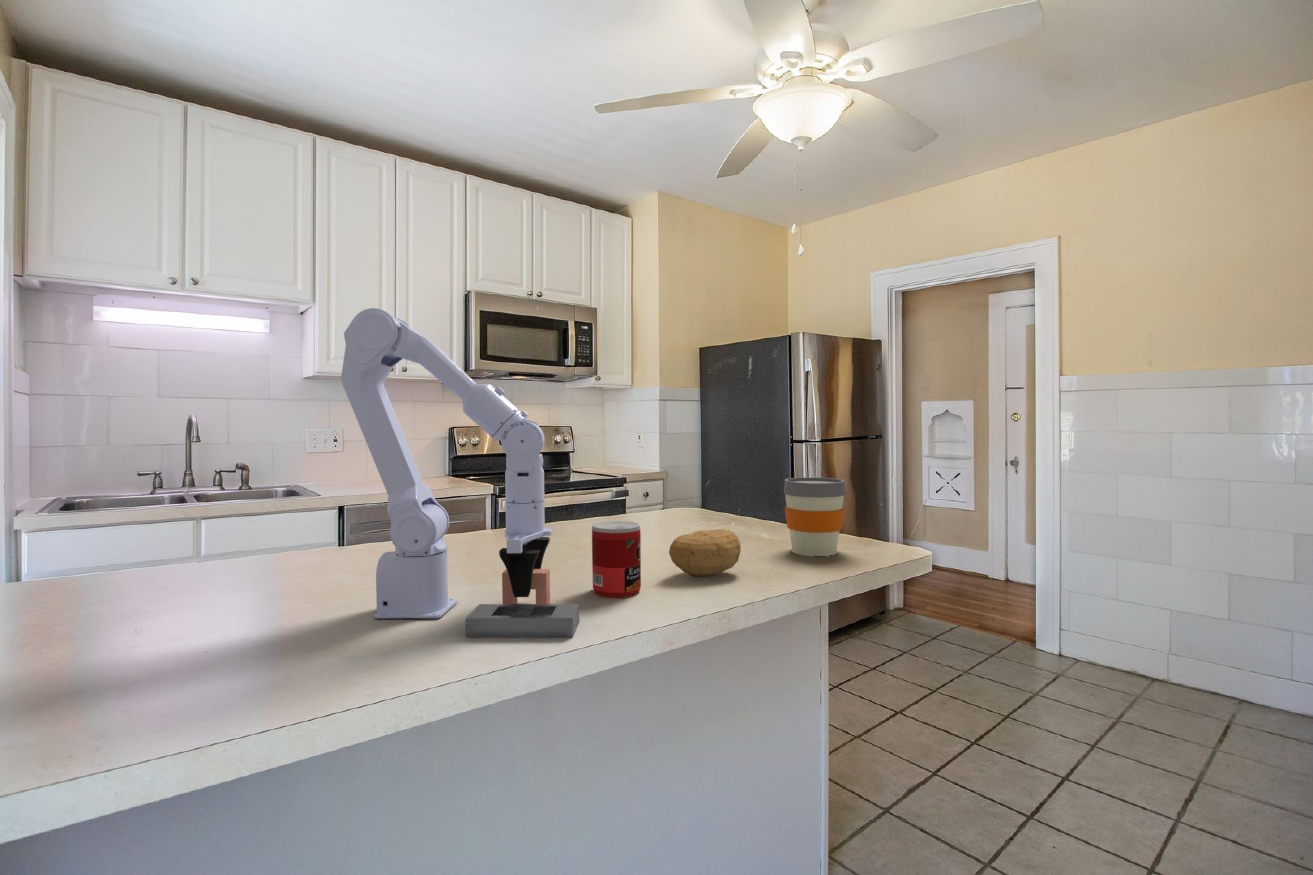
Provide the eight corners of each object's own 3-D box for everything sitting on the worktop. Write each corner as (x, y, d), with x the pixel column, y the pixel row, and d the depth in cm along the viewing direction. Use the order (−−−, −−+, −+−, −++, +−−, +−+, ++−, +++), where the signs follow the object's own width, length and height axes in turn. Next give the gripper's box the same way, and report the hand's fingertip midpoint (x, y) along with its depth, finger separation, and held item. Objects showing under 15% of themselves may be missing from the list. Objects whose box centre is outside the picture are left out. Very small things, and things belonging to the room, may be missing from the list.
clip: (502, 609, 93) (502, 573, 92) (507, 603, 95) (506, 569, 95) (546, 609, 93) (546, 573, 92) (550, 603, 95) (549, 568, 95)
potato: (657, 574, 112) (657, 530, 112) (721, 565, 119) (721, 523, 119) (685, 587, 104) (685, 540, 103) (753, 576, 110) (753, 531, 110)
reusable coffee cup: (858, 553, 128) (858, 481, 127) (815, 561, 121) (815, 485, 121) (813, 543, 139) (813, 476, 138) (771, 550, 132) (770, 479, 131)
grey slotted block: (465, 637, 81) (465, 618, 81) (479, 621, 87) (479, 604, 87) (573, 637, 81) (572, 617, 81) (579, 621, 87) (579, 603, 87)
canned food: (635, 599, 97) (634, 529, 97) (586, 596, 99) (585, 528, 98) (645, 586, 105) (645, 521, 104) (600, 584, 106) (599, 520, 106)
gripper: (541, 508, 86) (543, 605, 86) (559, 494, 100) (561, 577, 101) (491, 508, 86) (492, 605, 87) (516, 494, 101) (517, 578, 101)
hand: (526, 590), depth 94 cm, fingers open, 5 cm apart
